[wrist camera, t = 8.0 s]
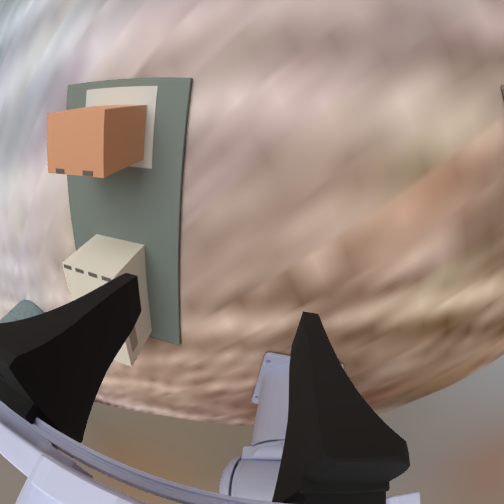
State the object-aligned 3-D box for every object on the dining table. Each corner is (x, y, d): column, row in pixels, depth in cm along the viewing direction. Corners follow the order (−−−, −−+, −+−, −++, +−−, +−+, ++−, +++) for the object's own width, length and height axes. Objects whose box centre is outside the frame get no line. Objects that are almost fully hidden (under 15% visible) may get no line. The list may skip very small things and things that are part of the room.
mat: (180, 343, 28) (179, 345, 28) (92, 314, 28) (91, 316, 28) (192, 78, 16) (190, 78, 16) (70, 85, 17) (67, 85, 16)
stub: (143, 159, 19) (103, 178, 14) (90, 155, 19) (48, 172, 15) (146, 104, 17) (104, 109, 12) (91, 106, 17) (46, 113, 13)
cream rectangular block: (152, 331, 27) (131, 367, 23) (110, 317, 28) (87, 349, 23) (144, 244, 22) (113, 278, 18) (96, 234, 23) (61, 263, 18)
